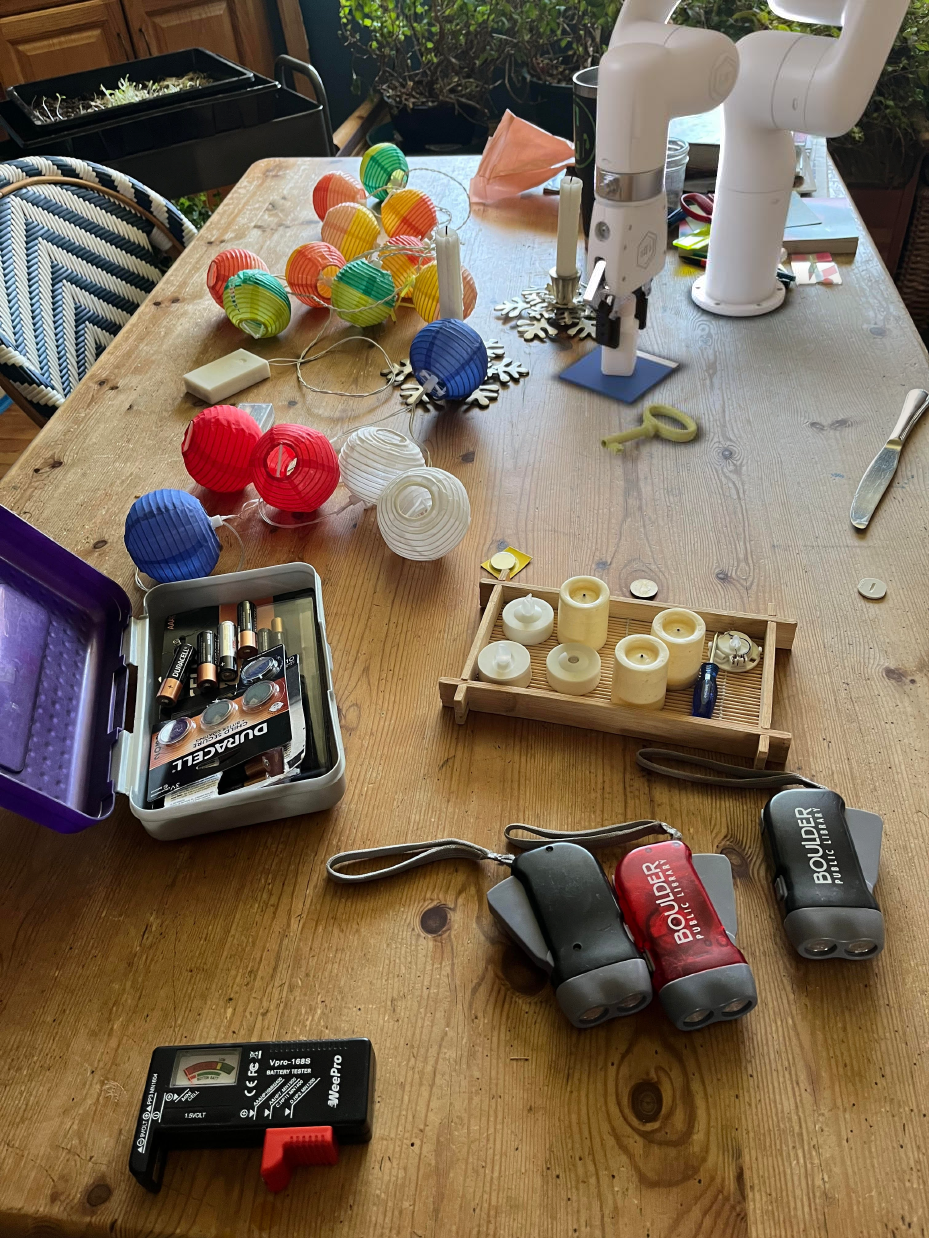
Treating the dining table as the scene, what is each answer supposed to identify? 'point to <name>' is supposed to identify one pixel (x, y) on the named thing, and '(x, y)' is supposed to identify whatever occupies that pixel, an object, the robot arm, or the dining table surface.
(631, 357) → the pepper shaker
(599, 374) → the towel
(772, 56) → the robot arm
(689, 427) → the key
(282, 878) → the dining table surface
